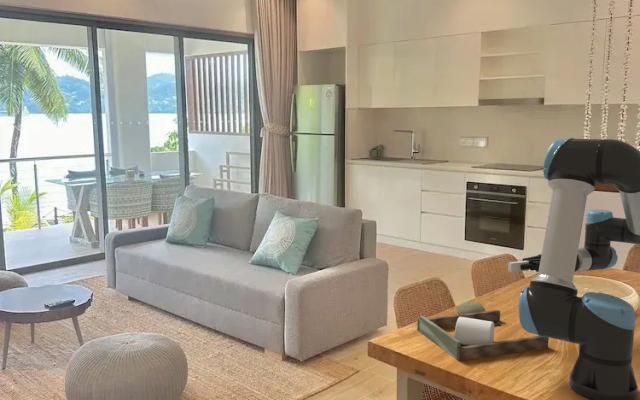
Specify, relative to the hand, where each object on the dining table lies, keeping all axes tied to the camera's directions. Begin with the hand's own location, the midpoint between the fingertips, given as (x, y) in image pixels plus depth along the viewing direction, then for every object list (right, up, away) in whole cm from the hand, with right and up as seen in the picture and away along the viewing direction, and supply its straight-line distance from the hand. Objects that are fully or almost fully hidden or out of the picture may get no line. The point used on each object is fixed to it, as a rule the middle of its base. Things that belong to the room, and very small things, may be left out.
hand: (509, 267), depth 172 cm
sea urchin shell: (-6, -20, +20) cm, 29 cm away
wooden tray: (-9, -22, 0) cm, 24 cm away
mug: (-11, -23, -3) cm, 26 cm away
